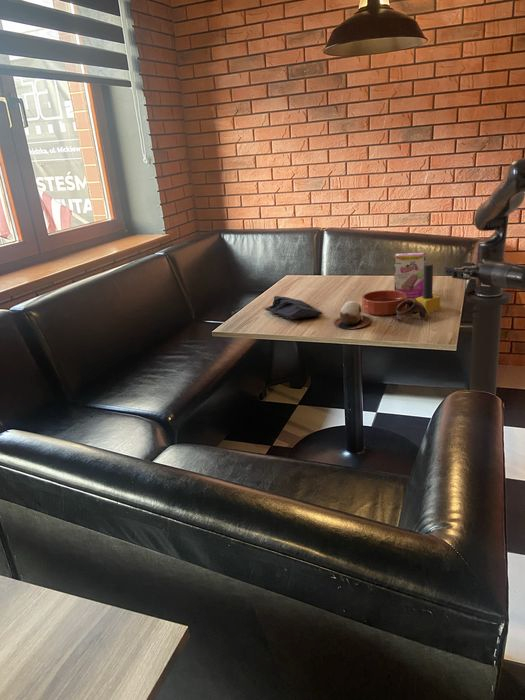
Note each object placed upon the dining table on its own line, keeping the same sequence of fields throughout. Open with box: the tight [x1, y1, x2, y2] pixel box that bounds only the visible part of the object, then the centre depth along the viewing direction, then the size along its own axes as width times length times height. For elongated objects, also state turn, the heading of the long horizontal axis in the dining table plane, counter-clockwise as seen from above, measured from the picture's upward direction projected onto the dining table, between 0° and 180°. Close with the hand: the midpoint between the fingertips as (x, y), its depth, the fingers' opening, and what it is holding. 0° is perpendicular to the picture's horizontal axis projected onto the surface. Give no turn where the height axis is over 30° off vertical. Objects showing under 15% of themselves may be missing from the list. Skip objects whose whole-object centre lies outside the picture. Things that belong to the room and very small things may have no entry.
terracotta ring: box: [361, 289, 408, 316], centre depth 190 cm, size 16×16×5 cm
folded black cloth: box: [265, 295, 323, 320], centre depth 196 cm, size 15×22×5 cm
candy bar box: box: [393, 252, 426, 299], centre depth 200 cm, size 11×5×16 cm, turn 74°
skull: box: [334, 300, 372, 330], centre depth 179 cm, size 12×10×10 cm
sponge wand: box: [414, 263, 441, 314], centre depth 184 cm, size 7×5×16 cm
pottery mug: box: [396, 298, 429, 322], centre depth 177 cm, size 12×10×8 cm
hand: (454, 267), depth 172 cm, fingers open, 8 cm apart
